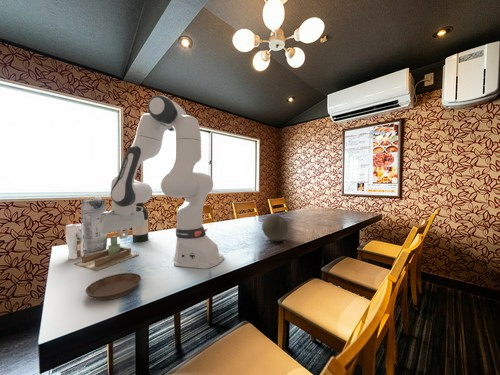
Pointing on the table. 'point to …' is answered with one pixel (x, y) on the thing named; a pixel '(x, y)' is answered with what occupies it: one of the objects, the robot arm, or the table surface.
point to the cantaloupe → (275, 228)
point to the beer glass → (75, 240)
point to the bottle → (114, 246)
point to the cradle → (105, 259)
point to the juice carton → (93, 224)
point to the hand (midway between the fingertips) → (123, 238)
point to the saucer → (113, 286)
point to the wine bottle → (141, 228)
